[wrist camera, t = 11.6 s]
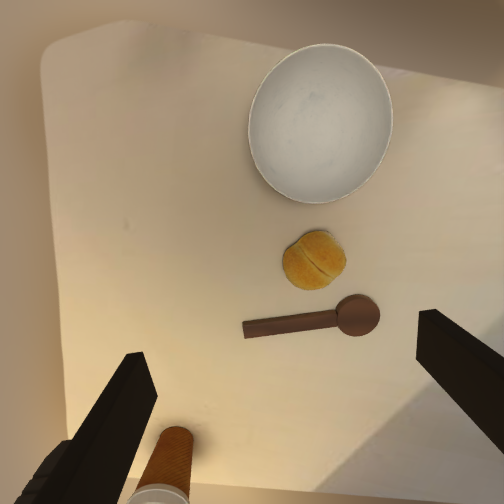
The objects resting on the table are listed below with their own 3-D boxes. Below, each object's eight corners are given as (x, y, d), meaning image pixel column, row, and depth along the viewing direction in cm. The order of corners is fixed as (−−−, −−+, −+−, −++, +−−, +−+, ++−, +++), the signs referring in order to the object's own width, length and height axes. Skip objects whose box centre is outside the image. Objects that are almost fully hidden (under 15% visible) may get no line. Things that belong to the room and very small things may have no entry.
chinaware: (380, 102, 32) (420, 80, 25) (331, 213, 36) (353, 222, 29) (271, 54, 30) (280, 15, 23) (232, 176, 34) (228, 176, 27)
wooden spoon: (240, 309, 40) (240, 314, 39) (375, 291, 40) (380, 295, 39) (246, 345, 42) (246, 351, 41) (375, 328, 42) (379, 333, 41)
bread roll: (271, 260, 38) (274, 269, 34) (318, 220, 36) (326, 225, 33) (306, 296, 40) (312, 309, 36) (351, 259, 38) (363, 268, 34)
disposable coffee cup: (159, 414, 46) (130, 493, 34) (208, 427, 47) (197, 508, 36) (145, 450, 48) (114, 535, 37) (193, 462, 50) (177, 548, 38)
